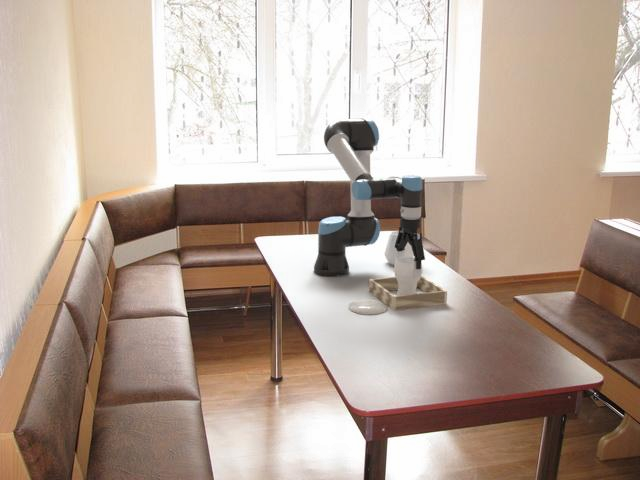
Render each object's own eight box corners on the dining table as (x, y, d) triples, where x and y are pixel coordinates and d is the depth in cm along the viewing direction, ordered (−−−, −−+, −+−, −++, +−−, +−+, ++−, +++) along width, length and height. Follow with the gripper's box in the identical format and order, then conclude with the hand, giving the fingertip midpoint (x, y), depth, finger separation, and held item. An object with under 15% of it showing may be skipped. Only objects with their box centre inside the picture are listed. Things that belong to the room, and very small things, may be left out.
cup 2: (419, 303, 249) (421, 264, 245) (391, 301, 251) (393, 262, 247) (421, 294, 259) (423, 257, 256) (394, 292, 261) (395, 255, 258)
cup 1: (418, 261, 303) (420, 232, 300) (405, 268, 292) (407, 238, 289) (392, 257, 310) (393, 228, 307) (378, 263, 299) (379, 233, 296)
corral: (369, 291, 262) (369, 279, 260) (418, 286, 269) (419, 274, 268) (393, 310, 242) (393, 297, 240) (446, 304, 249) (447, 291, 248)
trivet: (342, 303, 248) (342, 302, 248) (377, 299, 252) (377, 298, 252) (357, 316, 235) (357, 314, 235) (393, 312, 240) (393, 310, 239)
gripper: (387, 211, 258) (385, 264, 263) (417, 224, 235) (414, 282, 240) (404, 210, 260) (402, 263, 265) (436, 223, 237) (433, 280, 242)
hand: (408, 272), depth 252 cm, fingers open, 13 cm apart
